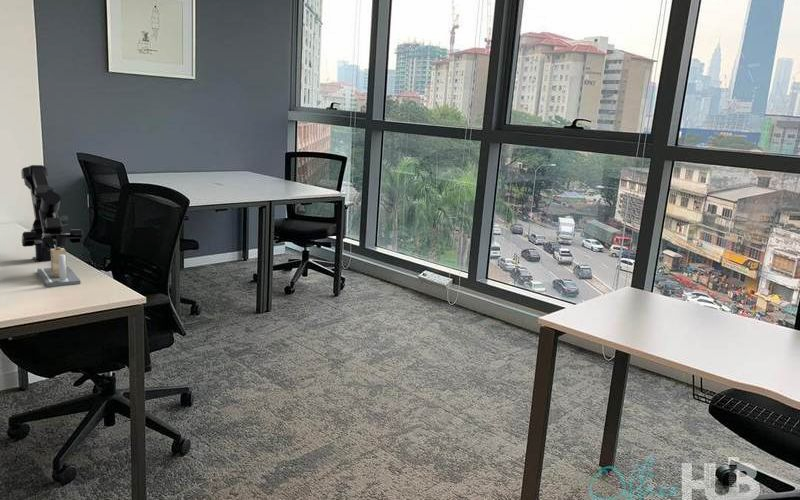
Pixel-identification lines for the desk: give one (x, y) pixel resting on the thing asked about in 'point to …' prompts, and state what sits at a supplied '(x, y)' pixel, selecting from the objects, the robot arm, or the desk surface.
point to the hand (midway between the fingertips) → (57, 257)
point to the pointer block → (56, 260)
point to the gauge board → (54, 279)
